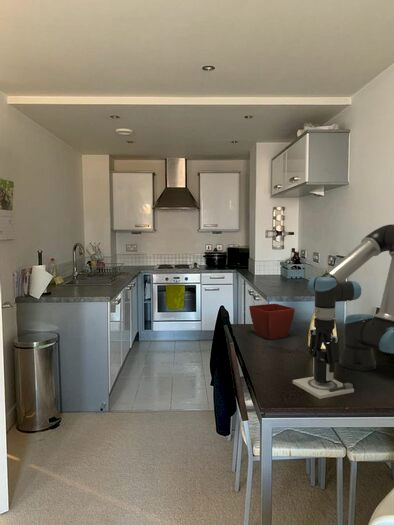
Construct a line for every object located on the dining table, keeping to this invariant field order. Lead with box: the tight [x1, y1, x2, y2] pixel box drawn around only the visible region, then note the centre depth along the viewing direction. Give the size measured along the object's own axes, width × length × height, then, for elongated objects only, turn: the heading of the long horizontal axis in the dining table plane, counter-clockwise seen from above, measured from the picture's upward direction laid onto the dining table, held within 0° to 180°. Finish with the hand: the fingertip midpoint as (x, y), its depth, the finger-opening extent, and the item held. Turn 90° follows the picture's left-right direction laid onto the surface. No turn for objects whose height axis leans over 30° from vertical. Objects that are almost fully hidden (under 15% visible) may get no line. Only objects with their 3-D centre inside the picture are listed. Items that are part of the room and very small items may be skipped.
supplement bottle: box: [313, 348, 332, 383], centre depth 152 cm, size 7×7×12 cm
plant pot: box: [248, 303, 296, 340], centre depth 226 cm, size 19×19×17 cm
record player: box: [292, 376, 355, 400], centre depth 152 cm, size 16×16×3 cm
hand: (322, 376), depth 152 cm, fingers closed on supplement bottle, 7 cm apart
